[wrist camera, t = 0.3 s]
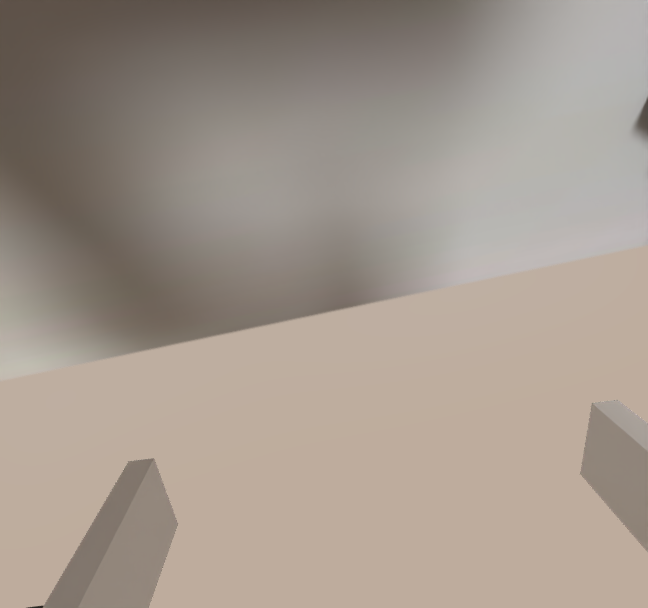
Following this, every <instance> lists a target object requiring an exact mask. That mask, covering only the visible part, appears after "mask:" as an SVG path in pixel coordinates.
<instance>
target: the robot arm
mask: <svg viewBox="0 0 648 608" xmlns="http://www.w3.org/2000/svg"><path fill="white" fill-rule="evenodd" d="M580 474H581V475H582V477H583V478H584V479H585V480H586V481H587V482H588V484H589V485H590V486H591V487H592V488H593V489H594V490H595V492H596V493H597V494H598V495H599V496H600V497H601V498H602V500H603V501H604V502H605V503H606V504H607V506H608V507H609V508H610V509H611V510H612V511H613V512H614V514H615V515H616V516H617V517H618V518H619V519H620V521H621V522H622V523H623V524H624V525H625V526H626V527H627V529H628V530H629V531H630V532H631V533H632V535H633V536H634V537H635V538H636V539H637V540H638V542H639V543H640V544H641V545H642V546H643V547H644V548H645V550H647V552H648V423H646V422H645V421H644V420H642V419H641V418H640V417H639V416H638V415H636V414H635V413H634V412H632V411H631V410H630V409H628V408H627V407H626V406H625V405H623V404H622V403H621V402H620V401H618V400H614V401H606V402H598V403H592V406H591V412H590V418H589V424H588V430H587V437H586V442H585V448H584V454H583V461H582V467H581V473H580ZM177 526H178V523H177V520H176V518H175V515H174V512H173V509H172V506H171V504H170V501H169V498H168V495H167V493H166V490H165V487H164V484H163V482H162V479H161V476H160V473H159V471H158V468H157V465H156V462H155V460H154V458H153V459H145V460H136V461H129V462H128V463H127V465H126V467H125V469H124V470H123V472H122V474H121V475H120V477H119V479H118V481H117V482H116V484H115V485H114V487H113V489H112V491H111V492H110V494H109V496H108V497H107V499H106V501H105V503H104V504H103V506H102V508H101V509H100V511H99V513H98V514H97V516H96V518H95V520H94V522H93V523H92V525H91V526H90V528H89V530H88V531H87V533H86V535H85V537H84V538H83V540H82V542H81V543H80V546H79V547H78V549H77V550H76V552H75V554H74V555H73V557H72V559H71V561H70V562H69V564H68V566H67V568H66V569H65V571H64V572H63V574H62V576H61V578H60V579H59V581H58V583H57V584H56V586H55V588H54V590H53V591H52V593H51V594H50V596H49V598H48V600H47V602H46V603H45V605H44V606H37V607H28V608H149V605H150V602H151V599H152V597H153V594H154V591H155V588H156V585H157V582H158V579H159V577H160V574H161V571H162V568H163V565H164V562H165V559H166V557H167V554H168V551H169V548H170V545H171V542H172V539H173V537H174V534H175V531H176V528H177Z"/></svg>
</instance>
